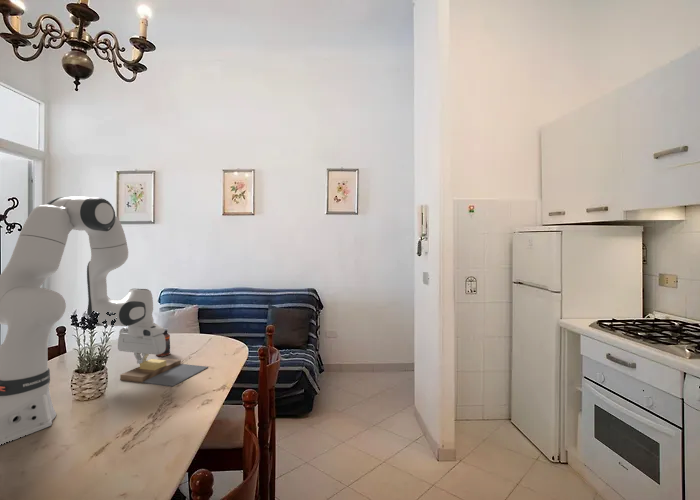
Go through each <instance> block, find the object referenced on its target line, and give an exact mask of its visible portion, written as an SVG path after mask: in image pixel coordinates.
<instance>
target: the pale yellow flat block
mask: <svg viewBox="0 0 700 500" xmlns="http://www.w3.org/2000/svg"><path fill="white" fill-rule="evenodd" d="M158 359H159V358H151V359H148V360H146V361H145V362H143V363H140V364H139V367H140V369H146V370H157V369H159V368H161V367H164V366H166V360H158Z"/></svg>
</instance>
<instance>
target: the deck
mask: <svg viewBox="0 0 700 500" xmlns="http://www.w3.org/2000/svg"><path fill="white" fill-rule="evenodd" d="M157 359H158V360H166V366H164V367H161V368H159V369H157V370H146V369H140V366H138V367H135V368H133V369H131V370H128V371H125V372H123V373H120V374H119V377H120V378H119V379H120V381H127V382H134V383H142V384H144V383H143V381H145V380H147V379H150V378H152V377H154V376H156V375H158V374H160V373H163V372H165V371H167V370H169V369H171V368H173V367H175V366H178V365H180V364H182V361H181V359H175V358H168V357H167V358H165V357H159V358H157Z"/></svg>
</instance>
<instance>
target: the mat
mask: <svg viewBox="0 0 700 500" xmlns="http://www.w3.org/2000/svg"><path fill="white" fill-rule="evenodd" d="M206 368H207V369H209V366H206V365H205V366H204V365H196V364H186V363H185V364H184V363H181V364H180V365H178V366H175V367H173V368H171V369H169V370H167V371H165V372H163V373H160V374H158V375H156V376H154V377H152V378H150V379H147V380H145V381H143V383H142V384H147V385H148V384H149V385H157V386H158V385H159V386H163V387H164V386H165V387H174V386H176V385H179V384H181V383H182V382H185V381H186V380H189V379H190V378H192V377H194V376H195V375H197V374H199V373H201V372H203V371H205V370H207V369H206ZM204 369H205V370H204ZM193 375H194V376H193Z"/></svg>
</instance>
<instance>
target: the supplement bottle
mask: <svg viewBox="0 0 700 500" xmlns="http://www.w3.org/2000/svg"><path fill="white" fill-rule="evenodd" d="M164 329H165V332H164V333H162V334H164V336H165V342H166V350H165V352H164V353H162V354H159V355H155V356H157V357H165V356H169V355H170V354H171V336H170V334H169V333H168V329H167V328H164Z"/></svg>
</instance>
